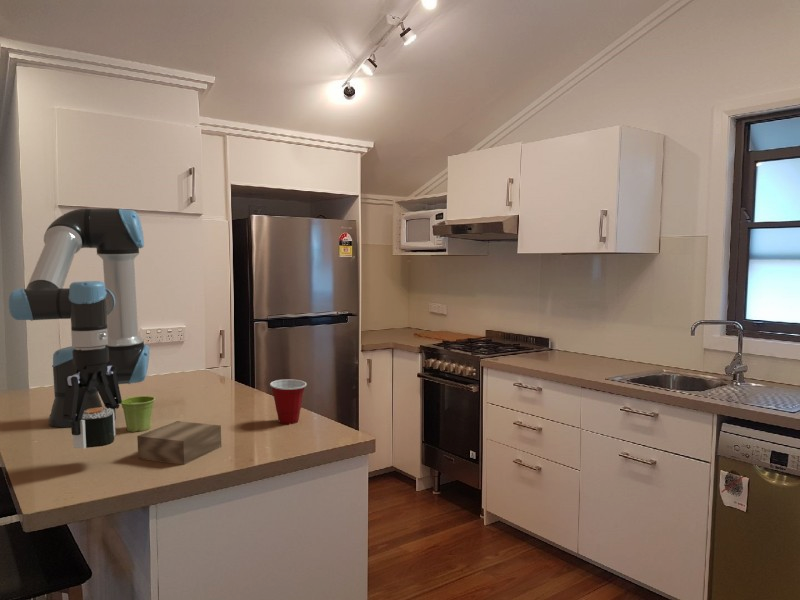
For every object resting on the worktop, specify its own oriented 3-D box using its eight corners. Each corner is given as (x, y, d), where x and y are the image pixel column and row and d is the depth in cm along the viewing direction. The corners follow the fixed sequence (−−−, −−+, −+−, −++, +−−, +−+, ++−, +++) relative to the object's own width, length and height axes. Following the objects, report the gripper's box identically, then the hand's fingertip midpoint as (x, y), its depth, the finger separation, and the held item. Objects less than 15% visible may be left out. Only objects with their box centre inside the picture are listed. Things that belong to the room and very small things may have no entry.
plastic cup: (290, 428, 166) (289, 387, 166) (263, 423, 172) (262, 383, 171) (315, 419, 175) (314, 380, 175) (288, 415, 181) (287, 377, 180)
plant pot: (163, 426, 171) (162, 397, 170) (139, 435, 162) (138, 404, 161) (138, 423, 174) (137, 395, 173) (113, 432, 165) (112, 402, 164)
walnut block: (138, 459, 142) (137, 435, 142) (178, 443, 155) (177, 421, 155) (184, 465, 137) (183, 441, 137) (221, 448, 151) (220, 425, 150)
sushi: (77, 439, 139) (75, 407, 139) (115, 435, 143) (114, 403, 142) (73, 450, 132) (71, 416, 131) (113, 445, 135) (112, 411, 135)
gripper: (67, 355, 124) (73, 458, 126) (135, 340, 145) (139, 428, 147) (38, 354, 126) (44, 455, 128) (110, 339, 147) (114, 427, 148)
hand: (95, 441), depth 137 cm, fingers closed on sushi, 9 cm apart
